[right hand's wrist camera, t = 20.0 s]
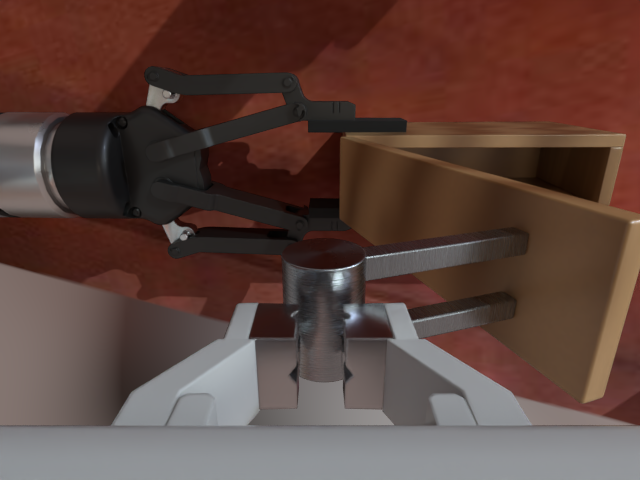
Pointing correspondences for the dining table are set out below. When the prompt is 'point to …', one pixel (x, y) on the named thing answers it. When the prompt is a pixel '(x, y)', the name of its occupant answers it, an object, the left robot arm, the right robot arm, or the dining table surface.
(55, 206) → the left robot arm
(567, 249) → the lid
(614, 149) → the brown wooden rectangular box
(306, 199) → the dining table surface
